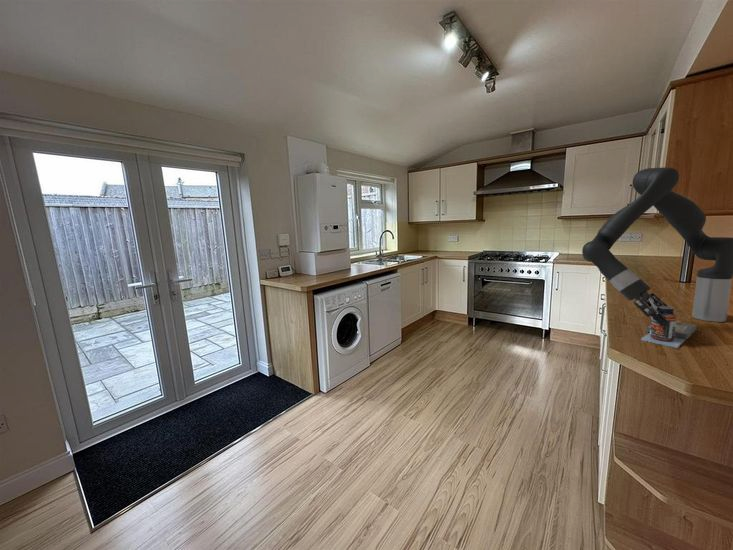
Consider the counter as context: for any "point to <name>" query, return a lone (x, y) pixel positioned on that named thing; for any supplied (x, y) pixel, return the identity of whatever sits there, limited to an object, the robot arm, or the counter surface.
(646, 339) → the coaster
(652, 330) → the supplement bottle
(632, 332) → the counter surface
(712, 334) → the counter surface
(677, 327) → the grey c-shaped bracket
